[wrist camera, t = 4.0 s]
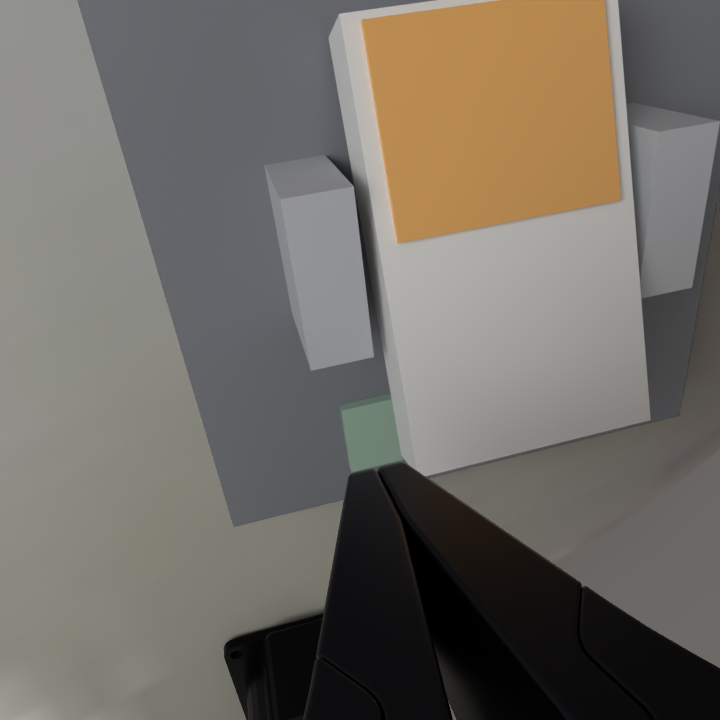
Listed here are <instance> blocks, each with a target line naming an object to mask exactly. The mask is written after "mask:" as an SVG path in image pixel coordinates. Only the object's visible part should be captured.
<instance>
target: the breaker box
mask: <svg viewBox="0 0 720 720" xmlns="http://www.w3.org/2000/svg"><path fill="white" fill-rule="evenodd" d="M427 1H435V0H78V4H79V7H80V10H81V14H82V17H83V21H84V24H85V27H86V31H87V34H88V37H89V41H90V44H91V47H92V51H93V54H94V58H95V61H96V64H97V68H98V71H99V74H100V78H101V81H102V84H103V88H104V91H105V95H106V98H107V101H108V105H109V108H110V111H111V115H112V118H113V122H114V125H115V128H116V132H117V135H118V138H119V142H120V145H121V148H122V152H123V155H124V159H125V162H126V165H127V169H128V172H129V175H130V179H131V182H132V186H133V189H134V192H135V196H136V199H137V202H138V206H139V209H140V212H141V216H142V219H143V223H144V226H145V229H146V233H147V236H148V239H149V243H150V246H151V249H152V253H153V256H154V260H155V263H156V266H157V270H158V273H159V276H160V280H161V283H162V287H163V290H164V293H165V297H166V300H167V303H168V307H169V310H170V313H171V317H172V320H173V324H174V327H175V330H176V334H177V337H178V340H179V344H180V347H181V351H182V354H183V357H184V361H185V364H186V367H187V371H188V374H189V377H190V381H191V384H192V388H193V391H194V394H195V398H196V401H197V404H198V408H199V411H200V415H201V418H202V421H203V425H204V428H205V431H206V435H207V438H208V441H209V445H210V448H211V452H212V455H213V458H214V462H215V465H216V468H217V472H218V475H219V478H220V482H221V485H222V489H223V492H224V495H225V499H226V502H227V505H228V509H229V512H230V516H231V519H232V522H233V526H234V527H235V526H239V525H243V524H247V523H251V522H255V521H259V520H263V519H267V518H271V517H275V516H279V515H283V514H287V513H291V512H295V511H299V510H303V509H307V508H311V507H315V506H319V505H323V504H327V503H331V502H335V501H339V500H343V499H344V497H345V492H346V486H347V480H348V477H349V475H350V474H351V473H355V472H359V471H364V470H368V469H375V470H376V471H377V470H378V468H379V467H381V466H386V465H390V464H394V463H399V462H404V463H406V464H408V463H407V462H406V461H405V459H404V458H403V456H402V455H401V450H400V444H399V438H398V433H397V427H396V421H395V416H394V410H393V404H392V398H391V393H390V387H389V381H388V376H387V370H386V364H385V358H384V353H383V347H382V341H381V336H380V330H379V324H378V319H377V313H376V307H375V301H374V296H373V290H372V284H371V279H370V273H369V267H368V261H367V256H366V250H365V244H364V239H363V233H362V227H361V221H360V216H359V210H358V204H357V199H356V193H355V187H354V181H353V176H352V170H351V164H350V159H349V153H348V147H347V142H346V136H345V130H344V124H343V119H342V113H341V107H340V102H339V96H338V90H337V84H336V79H335V73H334V67H333V62H332V56H331V50H330V44H329V39H328V38H329V35H330V33H331V31H332V29H333V26H334V24H335V22H336V20H337V18H338V15H339V14H340V13H348V12H355V11H362V10H369V9H377V8H384V7H391V6H398V5H406V4H413V3H420V2H427ZM618 6H619V19H620V32H621V45H622V58H623V71H624V84H625V96H626V109H627V122H628V135H629V148H630V161H631V173H632V186H633V199H634V212H635V225H636V238H637V250H638V263H639V276H640V289H641V302H642V315H643V328H644V340H645V353H646V366H647V379H648V392H649V405H650V417H651V420H649V421H645V422H641V423H637V424H633V425H629V426H625V427H621V428H617V429H613V430H609V431H605V432H601V433H597V434H593V435H589V436H585V437H581V438H577V439H573V440H569V441H565V442H561V443H557V444H553V445H549V446H545V447H541V448H537V449H533V450H529V451H525V452H521V453H517V454H513V455H509V456H505V457H501V458H497V459H493V460H489V461H485V462H481V463H477V464H473V465H469V466H465V467H461V468H457V469H453V470H449V471H445V472H441V473H437V474H433V475H429V476H426V477H427V478H431V477H435V476H439V475H443V474H447V473H451V472H455V471H459V470H463V469H467V468H471V467H475V466H479V465H483V464H487V463H491V462H495V461H499V460H503V459H507V458H511V457H515V456H519V455H523V454H527V453H531V452H535V451H539V450H543V449H547V448H551V447H555V446H559V445H563V444H567V443H571V442H575V441H579V440H583V439H587V438H591V437H595V436H599V435H603V434H607V433H611V432H615V431H619V430H623V429H627V428H631V427H635V426H639V425H643V424H647V423H651V422H655V421H659V420H663V419H667V418H671V417H675V416H679V414H680V408H681V402H682V397H683V391H684V385H685V380H686V374H687V368H688V363H689V357H690V351H691V346H692V340H693V334H694V329H695V323H696V317H697V312H698V306H699V300H700V295H701V289H702V283H703V278H704V272H705V266H706V261H707V255H708V249H709V244H710V238H711V232H712V227H713V221H714V215H715V209H716V204H717V198H718V192H719V187H720V0H618Z"/></svg>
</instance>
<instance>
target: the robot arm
mask: <svg viewBox="0 0 720 720" xmlns="http://www.w3.org/2000/svg"><path fill="white" fill-rule="evenodd" d="M581 588H582V589H581ZM224 658H225V661H226V664H227V667H228V669H229V672H230V675H231V678H232V680H233V683H234V686H235V689H236V692H237V694H238V697H239V700H240V703H241V705H242V708H243V711H244V714H245V717H246V719H247V720H453V719H452V715H451V711H450V707H449V703H450V705H451V708H452V710H453V712H454V714H455V717H456V719H457V720H720V668H718V667H717V666H715V665H713V664H711V663H709V662H708V661H706V660H704V659H702V658H700V657H699V656H697V655H695V654H693V653H691V652H690V651H688V650H686V649H685V648H683V647H681V646H680V645H678V644H676V643H675V642H673V641H671V640H669V639H668V638H666V637H664V636H663V635H661V634H659V633H657V632H656V631H654V630H652V629H651V628H649V627H647V626H646V625H644V624H642V623H641V622H640V621H638V620H636V619H635V618H633V617H632V616H630V615H629V614H627V613H626V612H624V611H623V610H621V609H619V608H618V607H616V606H615V605H613V604H612V603H610V602H609V601H607V600H606V599H604V598H603V597H601V596H600V595H598V594H597V593H595V592H594V591H593V590H591V589H590V588H588V587H587V586H584V587H582V585H581V583H580V582H579V581H577V580H576V579H575V578H573V577H572V576H570V575H569V574H567V573H566V572H564V571H563V570H562V569H560V568H559V567H557V566H556V565H554V564H553V563H551V562H550V561H548V560H547V559H545V558H544V557H543V556H541V555H540V554H538V553H537V552H535V551H534V550H532V549H531V548H529V547H528V546H526V545H525V544H524V543H522V542H521V541H519V540H518V539H516V538H515V537H513V536H512V535H510V534H509V533H507V532H506V531H505V530H503V529H502V528H500V527H499V526H497V525H496V524H494V523H493V522H491V521H490V520H488V519H487V518H486V517H484V516H483V515H481V514H480V513H478V512H477V511H475V510H474V509H472V508H471V507H469V506H468V505H467V504H465V503H464V502H462V501H461V500H459V499H458V498H456V497H455V496H453V495H452V494H450V493H449V492H448V491H446V490H445V489H443V488H442V487H440V486H439V485H437V484H436V483H434V482H433V481H431V480H430V479H429V478H427V477H426V476H424V475H423V474H421V473H420V472H418V471H417V470H415V469H414V468H412V467H411V466H410V465H408V464H406V463H404V462H399V463H394V464H390V465H386V466H381V467H379V468H378V470H377V471H376V470H375V469H368V470H364V471H359V472H355V473H351V474H350V475H349V477H348V480H347V486H346V492H345V497H344V503H343V508H342V514H341V520H340V525H339V531H338V536H337V542H336V548H335V553H334V559H333V564H332V570H331V575H330V581H329V587H328V592H327V598H326V603H325V609H324V614H323V615H320V616H316V617H313V618H309V619H305V620H302V621H298V622H294V623H291V624H287V625H283V626H280V627H276V628H273V629H269V630H265V631H262V632H258V633H254V634H251V635H247V636H243V637H240V638H236V639H233V640H230V641H228V642H227V643H226V644H225V646H224ZM448 701H449V703H448Z"/></svg>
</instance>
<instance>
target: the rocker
mask: <svg viewBox="0 0 720 720" xmlns="http://www.w3.org/2000/svg"><path fill="white" fill-rule="evenodd" d="M328 39H329V44H330V50H331V56H332V62H333V67H334V73H335V79H336V84H337V90H338V96H339V102H340V107H341V113H342V119H343V124H344V130H345V136H346V142H347V147H348V153H349V159H350V164H351V170H352V176H353V181H354V187H355V193H356V199H357V204H358V210H359V216H360V221H361V227H362V233H363V239H364V244H365V250H366V256H367V261H368V267H369V273H370V279H371V284H372V290H373V296H374V301H375V307H376V313H377V319H378V324H379V330H380V336H381V341H382V347H383V353H384V358H385V364H386V370H387V376H388V381H389V387H390V393H391V398H392V404H393V410H394V416H395V421H396V427H397V433H398V438H399V444H400V450H401V455H402V456H403V458H404V459H405V461H406V462H407V463H408V465H410V466H411V467H412V468H414V469H415V470H417V471H418V472H420V473H421V474H423V475H424V476H429V475H433V474H437V473H441V472H445V471H449V470H453V469H457V468H461V467H465V466H469V465H473V464H477V463H481V462H485V461H489V460H493V459H497V458H501V457H505V456H509V455H513V454H517V453H521V452H525V451H529V450H533V449H537V448H541V447H545V446H549V445H553V444H557V443H561V442H565V441H569V440H573V439H577V438H581V437H585V436H589V435H593V434H597V433H601V432H605V431H609V430H613V429H617V428H621V427H625V426H629V425H633V424H637V423H641V422H645V421H649V420H651V417H650V405H649V392H648V379H647V366H646V353H645V340H644V328H643V315H642V302H641V289H640V276H639V263H638V250H637V238H636V225H635V212H634V199H633V186H632V173H631V161H630V148H629V135H628V122H627V109H626V96H625V84H624V71H623V58H622V45H621V32H620V19H619V6H618V0H435V1H427V2H420V3H413V4H406V5H398V6H391V7H384V8H377V9H369V10H362V11H355V12H348V13H340V14H339V15H338V18H337V20H336V22H335V24H334V26H333V29H332V31H331V33H330V35H329V38H328Z"/></svg>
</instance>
